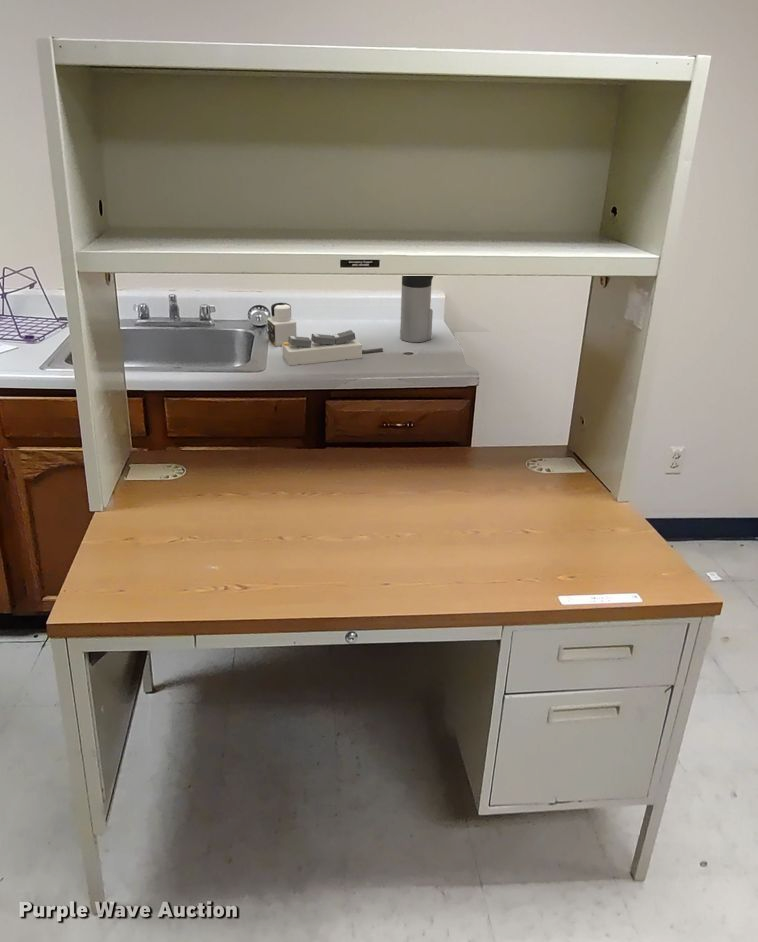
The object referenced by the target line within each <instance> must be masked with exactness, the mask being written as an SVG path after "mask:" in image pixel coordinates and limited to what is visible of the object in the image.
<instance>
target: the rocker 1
mask: <svg viewBox="0 0 758 942" xmlns="http://www.w3.org/2000/svg"><path fill="white" fill-rule="evenodd" d="M288 343H289V344H290V345H292V346H305V347H311V343H312V340H311V338H310V337H307V336H298V335H297V336H289V337H288Z"/></svg>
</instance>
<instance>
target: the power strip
mask: <svg viewBox="0 0 758 942" xmlns="http://www.w3.org/2000/svg"><path fill="white" fill-rule="evenodd" d="M311 341H312V340H311ZM281 348H282V351H281V352H282V359H284V361H285V362H286V363H287V364H288V365H289V366H290V365H291V366H299V365H298V364H301V365H306V364H317V363H318V364H319V363H328V362H336V361H337V362H338V361H345V359H348V360H356V359H362V358H363V354H368V353H369V354H372V353H379V352H384V348H382V347H379V348H371V349H369V348H368V349H363V344H362V343H360V342H359V341H358V340H357V339H354V340H351V341H347V342H344V343H340V344H336V343H335V342H334V345H331V344H319V343H314V342H313V341H312V343H311V347H305V346H292V345H290V344H289V343H288V342H283V344H282V347H281Z"/></svg>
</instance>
